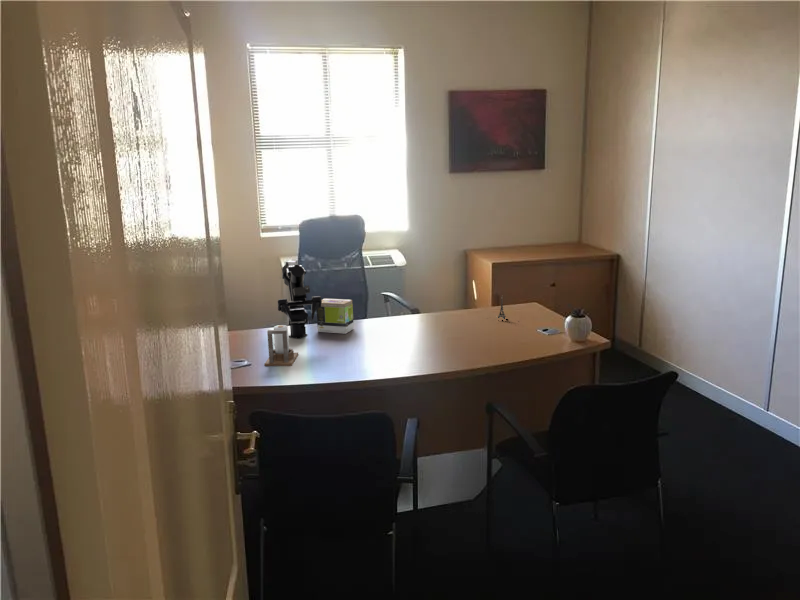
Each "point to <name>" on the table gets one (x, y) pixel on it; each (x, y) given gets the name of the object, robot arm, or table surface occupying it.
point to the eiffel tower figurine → (502, 310)
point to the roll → (280, 339)
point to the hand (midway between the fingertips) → (301, 320)
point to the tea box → (335, 316)
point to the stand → (280, 359)
